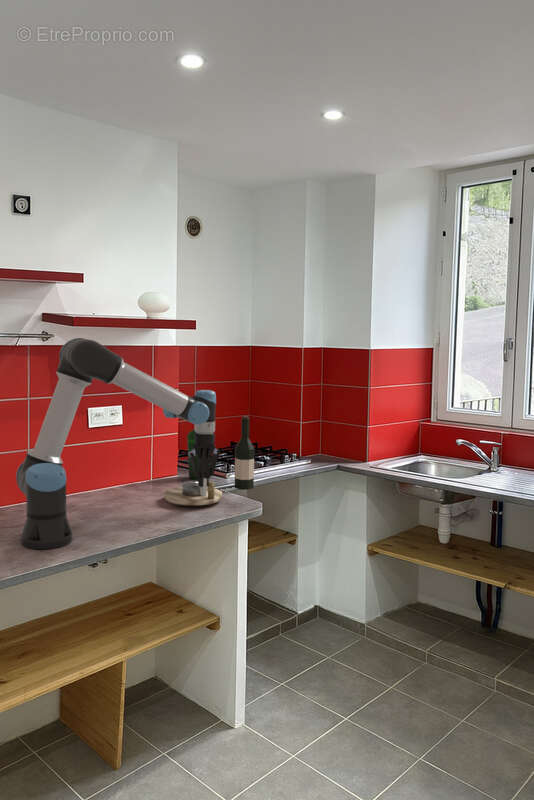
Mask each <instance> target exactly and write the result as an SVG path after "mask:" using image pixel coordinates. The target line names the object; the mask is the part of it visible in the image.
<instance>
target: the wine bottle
mask: <svg viewBox="0 0 534 800" xmlns="http://www.w3.org/2000/svg"><path fill="white" fill-rule="evenodd" d="M240 432H241V433H240V434H241V435H240V439H239V441H238V443H237V444H236V445H235V448H234V488H235V489H236V490H237V489H238V490H241V491H242V490H246V491H247V490H252V489H254V481H255V480H254V479H255V477H254V476H255V447H254V445H253V443H252V441H251V439H250V416H249V415H243V416H242V417H241V431H240Z"/></svg>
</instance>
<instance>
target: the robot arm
mask: <svg viewBox="0 0 534 800" xmlns="http://www.w3.org/2000/svg"><path fill="white" fill-rule="evenodd" d="M55 373H56V375H57V377H58V381H57V384H56V387H55V389H54V392H53V395H52V398H51V401H50V403H49V406H48V407H47V408H48V409H47V410H46V414H45V417H44V420H43V422H42V426H41V428H40V431H39V433H38V437H37V440H36V442H35V445H34V448H32V449H31V450H29V451H27V453H26V455H25V457H24V461H23V462H22V463H21V464H20V465H19V466H18V468H17V471H16V473H15V474H16V475H15V477H16V479H15V480H16V484H17V487H18V488H19V490H20V491H21V492H22V493H23V495H24V496H25V502H26V520H25V521H24V522H25V523H24V525H23V529H22V532H21V536H20V544H21V546H23V547H24V548H26V549H31V550H51V549H57V548H60V547H64V546H66V545H69V544H70V543H72V541H73V530H72V528H71V525H70V522H69V519H68V517H67V473H66V469H65V468H64V467H63V464H64V461H63V460H62V458H61V455H62V452H63V449H64V446H65V444H66V442H67V441H66V440H67V438H68V435H69V432H70V430H71V427H72V424H73V421H74V419H75V416H76V414H77V413H76V412H78V411H77V410H78V408H79V406H80V405H79V404H80V403H81V399H82V396H83V394H84V390H85V388H86V387H88V386H90V385H92V382H93V380H94V379H95V380H98V381H101V382H103V383H105V384H107V385H110V384H113V385H116V386H118V387H120V388H122V389H124V390H126V391H127V392H130V393H132V394H134V395H136V396H138V397H140V398H142V399H143V400H146V401H148V402H149V403H152V404H153V405H156V406H157V407H160V408H161V409H162V412H163V415H164V417H165V418H167V419H181V420H183V421H186V422H188V423H191V424H193V425H194V424H195V426H194V429H195V432H196V433H195V434H194V443H195V445H194V447H193V450H192V451H191V452H188V451H187V457H188V456H189V457H190V460H191V465H192V470H193V474H194V476H195V477H198V480H197V481H198V485H199V487H200V495H202V496H206V491H207V487H208V485H209V482H210V478H211V477H214V474H215V471H216V467H217V462H218V458H219V456H220V455H221V450H220V449H217V448H216V445H215V442H216V440H215V439H216V434H215V431H216V411H217V410H216V409H217V407H216V406H217V395H216V392H215V391H213V390H211V389H200V390H199V389H198V390H196V391H195V393H194V395H191V396H188V395H187V394H185V393H183V392H181V391H179V390H178V389H175V388H173V387H172V386H170V385H168V384H166V383H164V382H162V381H161V380H159V379H157V378H155V377H153V376H151V375H149V374H147V373H146V372H143V371H142V370H140V369H138V368H136V367H134V366H132V365H130V364H129V363H126V361H125V362H124V358H123V357H122V356H120V355H118V354H117V353H115V352H113V351H111V350H110V349H108V348H107V347H106V346H104V345H103V344H102V343H100V342H98V341H95V340H93V339H88V338H84V337H83V338H82V337H77V338H73V339H70V340H68V341H67V342H65V343H64V344H63V345H62V347H61V349H60V351H59V363H58V366H57V368H56V372H55ZM195 453H196V454H197V456H198V466H197V461H196V457H195Z"/></svg>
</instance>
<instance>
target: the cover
mask: <svg viewBox="0 0 534 800" xmlns="http://www.w3.org/2000/svg"><path fill="white" fill-rule="evenodd" d="M181 487H182V494H183V495H185V496H189V497H199V496H202V495H200V487H199V485H198V480H186V481H183V482H182V484H181Z"/></svg>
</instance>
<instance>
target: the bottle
mask: <svg viewBox="0 0 534 800" xmlns="http://www.w3.org/2000/svg"><path fill="white" fill-rule="evenodd" d="M193 425H194V427H195V424H193ZM195 433H196V432H195V428H194V429H192V430H190V431H189V432H188V433H187V435H186V439H187V441H186V443H187V445H186V446H187V453H188V452H191V451H192V450H193V447H194V445H195V443H194V434H195ZM195 457H196V461H197V466H198V456H197V454H196V453H195ZM187 465H188V479H190V480H191V481H198V477H195V476H194V474H193V470H192V465H191V460H190V457H189V456H188V455H187Z"/></svg>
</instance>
